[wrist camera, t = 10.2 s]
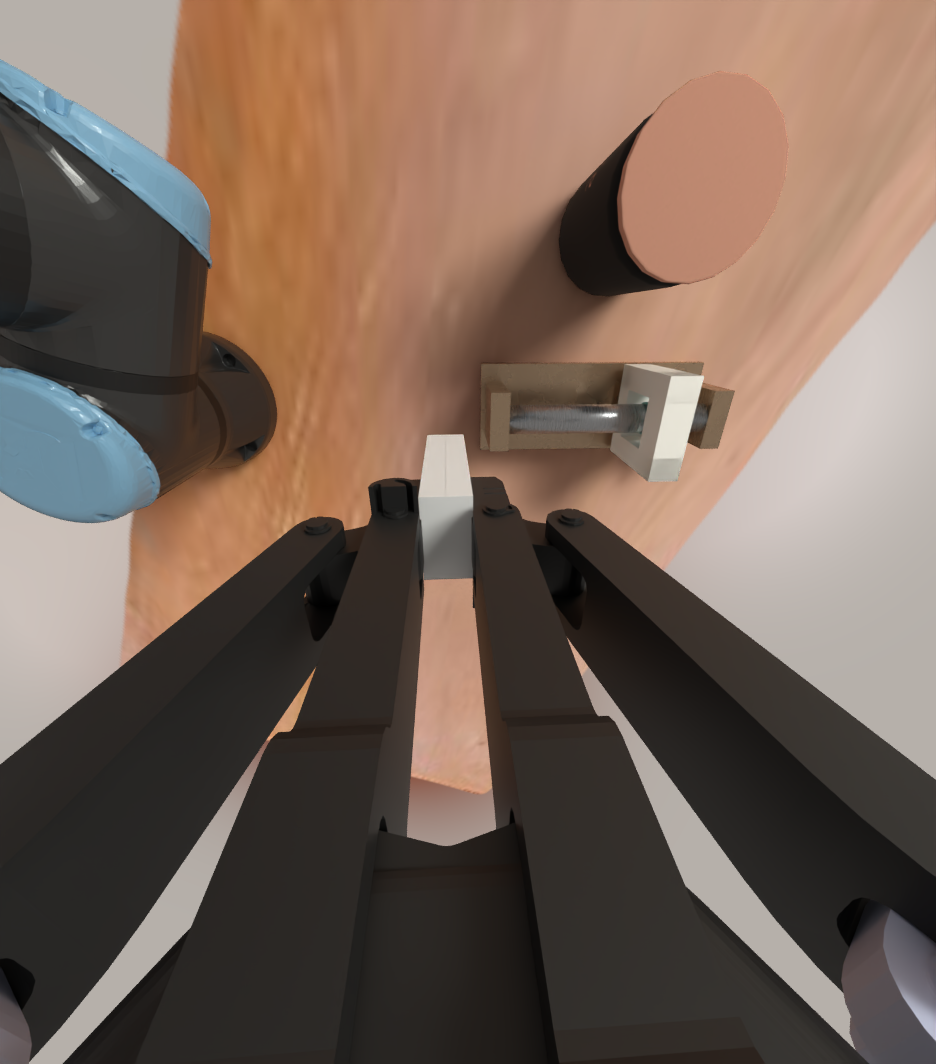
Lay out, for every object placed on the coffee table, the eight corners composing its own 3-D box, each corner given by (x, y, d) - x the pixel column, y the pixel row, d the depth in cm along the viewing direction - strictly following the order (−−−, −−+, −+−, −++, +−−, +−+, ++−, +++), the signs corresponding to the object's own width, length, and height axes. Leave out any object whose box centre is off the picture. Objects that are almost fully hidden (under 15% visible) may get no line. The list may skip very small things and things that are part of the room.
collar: (610, 450, 50) (648, 481, 41) (624, 364, 46) (671, 376, 36) (633, 449, 50) (677, 481, 41) (650, 363, 46) (704, 375, 36)
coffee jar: (666, 165, 39) (813, 59, 23) (652, 292, 44) (765, 276, 28) (556, 176, 39) (628, 79, 23) (555, 301, 44) (613, 291, 28)
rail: (479, 447, 52) (484, 469, 44) (480, 363, 47) (486, 371, 39) (679, 444, 52) (718, 466, 45) (699, 361, 48) (747, 370, 40)
